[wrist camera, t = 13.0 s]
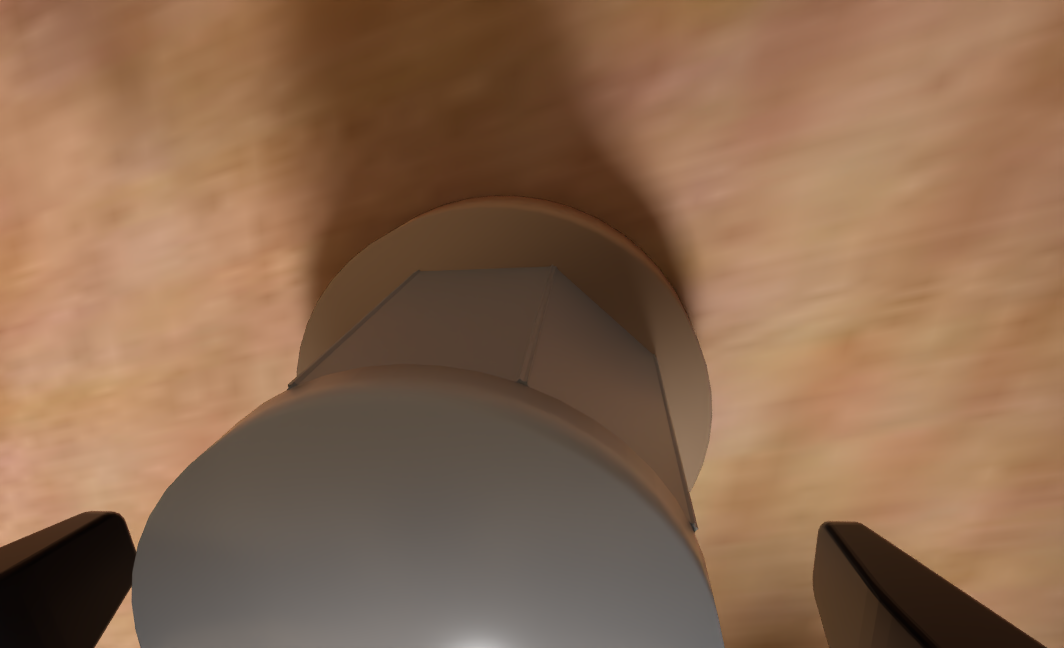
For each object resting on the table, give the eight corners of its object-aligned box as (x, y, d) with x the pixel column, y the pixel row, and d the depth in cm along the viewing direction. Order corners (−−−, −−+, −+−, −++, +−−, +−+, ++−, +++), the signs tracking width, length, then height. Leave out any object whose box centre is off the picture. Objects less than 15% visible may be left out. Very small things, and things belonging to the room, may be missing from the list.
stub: (781, 379, 12) (918, 580, 7) (526, 588, 14) (488, 851, 9) (485, 104, 10) (385, 101, 5) (264, 385, 13) (54, 559, 8)
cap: (515, 600, 12) (461, 925, 7) (279, 419, 11) (38, 653, 6) (739, 415, 10) (866, 691, 5) (476, 180, 9) (347, 255, 5)
